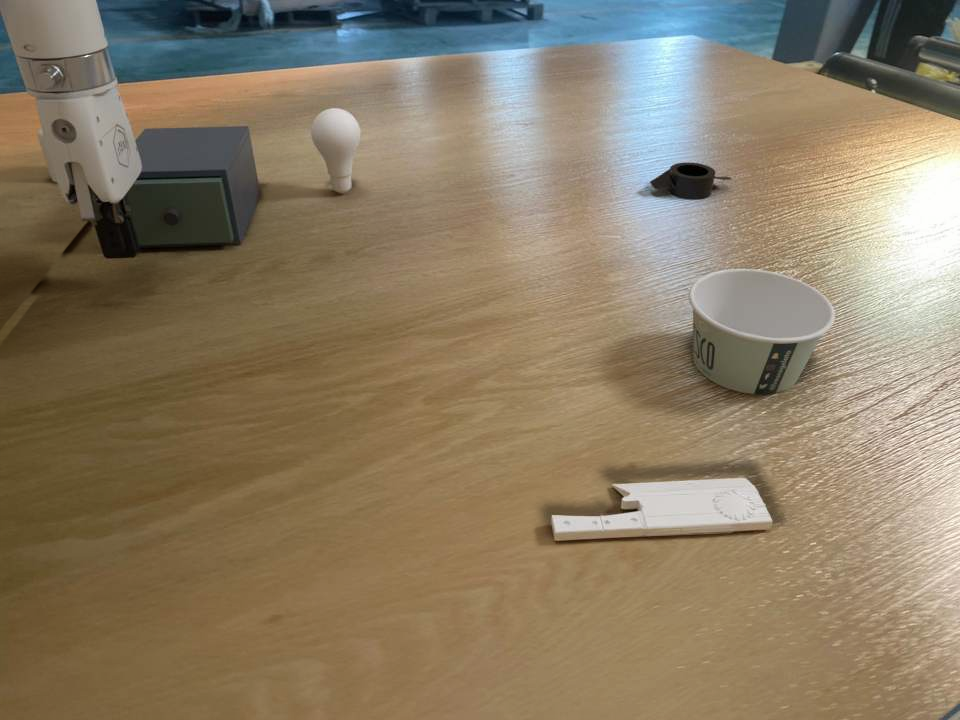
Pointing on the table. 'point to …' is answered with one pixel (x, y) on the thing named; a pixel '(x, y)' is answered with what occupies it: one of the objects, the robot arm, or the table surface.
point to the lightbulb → (337, 144)
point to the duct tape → (687, 181)
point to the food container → (756, 328)
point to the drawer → (180, 211)
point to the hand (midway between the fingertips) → (122, 254)
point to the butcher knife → (673, 511)
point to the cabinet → (205, 166)
